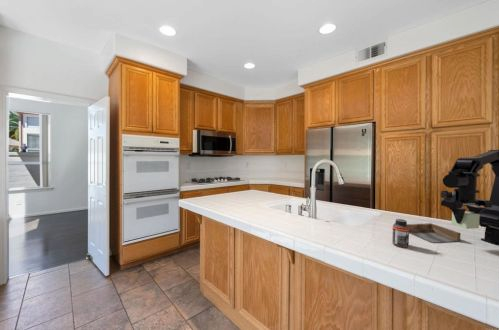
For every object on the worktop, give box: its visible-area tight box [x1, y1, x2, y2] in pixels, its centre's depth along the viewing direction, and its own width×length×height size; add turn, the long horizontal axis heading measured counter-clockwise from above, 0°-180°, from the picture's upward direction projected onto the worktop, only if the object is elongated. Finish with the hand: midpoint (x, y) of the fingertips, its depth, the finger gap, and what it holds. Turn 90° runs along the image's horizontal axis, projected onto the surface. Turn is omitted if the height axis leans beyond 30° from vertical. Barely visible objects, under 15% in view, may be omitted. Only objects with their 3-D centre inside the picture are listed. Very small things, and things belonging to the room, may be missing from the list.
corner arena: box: [406, 222, 462, 244], centre depth 107 cm, size 14×14×4 cm
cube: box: [451, 210, 480, 230], centre depth 94 cm, size 6×6×6 cm
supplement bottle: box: [392, 218, 410, 248], centre depth 96 cm, size 6×6×11 cm
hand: (464, 223), depth 95 cm, fingers closed on cube, 6 cm apart
